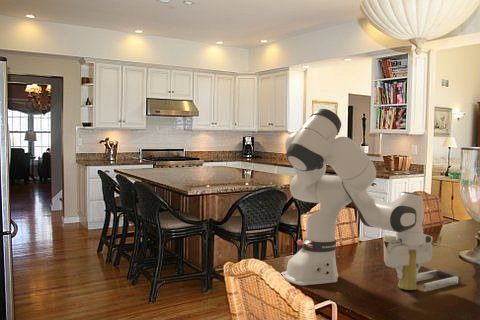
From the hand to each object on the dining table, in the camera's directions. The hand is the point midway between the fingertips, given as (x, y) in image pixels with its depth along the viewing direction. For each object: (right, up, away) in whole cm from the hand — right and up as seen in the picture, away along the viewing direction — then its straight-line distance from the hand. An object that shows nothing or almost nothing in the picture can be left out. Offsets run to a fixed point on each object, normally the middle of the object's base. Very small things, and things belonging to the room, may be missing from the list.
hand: (407, 276), depth 151 cm
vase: (0, -4, 0) cm, 4 cm away
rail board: (+11, -4, +7) cm, 14 cm away
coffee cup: (+7, -3, +34) cm, 35 cm away
